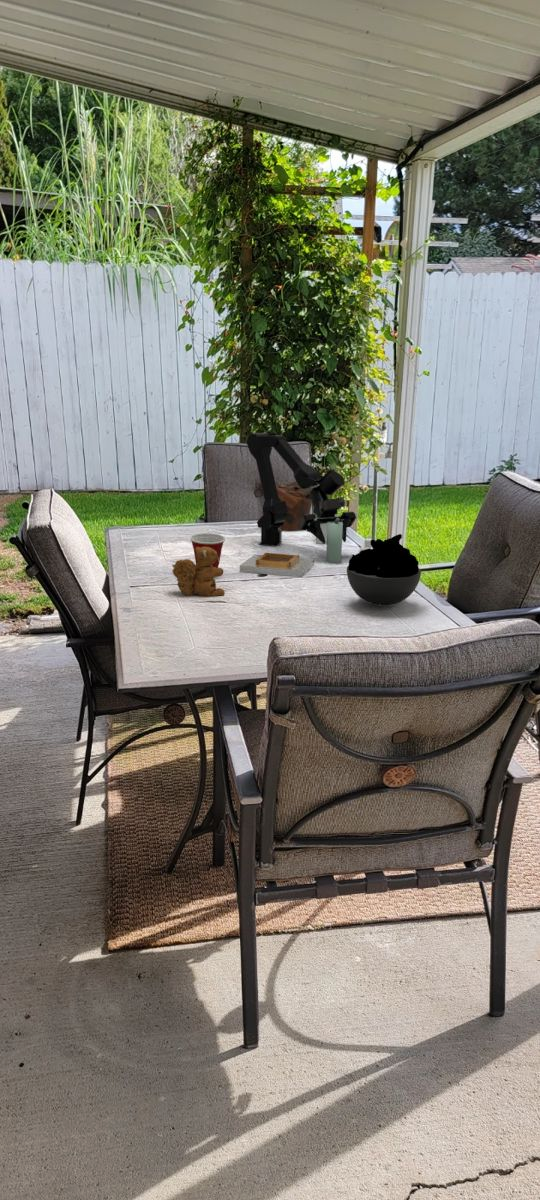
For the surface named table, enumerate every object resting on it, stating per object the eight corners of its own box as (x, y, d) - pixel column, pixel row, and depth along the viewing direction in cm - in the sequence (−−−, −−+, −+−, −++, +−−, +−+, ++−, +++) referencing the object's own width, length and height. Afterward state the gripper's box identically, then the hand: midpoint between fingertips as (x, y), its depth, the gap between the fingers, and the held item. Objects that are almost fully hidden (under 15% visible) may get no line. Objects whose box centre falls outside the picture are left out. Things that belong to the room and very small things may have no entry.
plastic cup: (195, 580, 259) (194, 541, 256) (186, 572, 269) (185, 534, 266) (229, 577, 263) (230, 539, 260) (219, 569, 273) (219, 532, 269)
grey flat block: (239, 571, 270) (239, 560, 269) (254, 560, 285) (254, 550, 284) (301, 577, 265) (302, 565, 264) (313, 565, 280) (314, 554, 279)
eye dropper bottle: (369, 570, 275) (370, 532, 272) (377, 574, 270) (379, 536, 267) (356, 571, 273) (358, 533, 270) (365, 575, 268) (366, 537, 265)
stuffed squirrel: (227, 595, 244) (227, 550, 241) (178, 599, 240) (177, 553, 236) (217, 586, 253) (217, 542, 250) (170, 590, 249) (169, 545, 245)
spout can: (323, 560, 286) (324, 515, 282) (337, 559, 288) (338, 515, 284) (330, 564, 282) (331, 518, 278) (343, 562, 284) (345, 517, 280)
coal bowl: (368, 618, 225) (371, 547, 220) (332, 598, 242) (334, 532, 237) (433, 610, 233) (438, 542, 227) (394, 592, 250) (397, 527, 245)
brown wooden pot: (262, 531, 331) (263, 484, 326) (270, 521, 350) (272, 477, 345) (308, 534, 328) (311, 487, 323) (314, 524, 347) (317, 479, 342)
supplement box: (336, 544, 311) (337, 509, 307) (315, 544, 311) (317, 509, 307) (335, 540, 318) (336, 505, 314) (315, 539, 318) (316, 505, 314)
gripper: (303, 489, 280) (316, 530, 273) (355, 487, 287) (369, 526, 280) (293, 509, 289) (305, 549, 282) (343, 507, 296) (357, 545, 289)
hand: (334, 542), depth 283 cm, fingers open, 7 cm apart
